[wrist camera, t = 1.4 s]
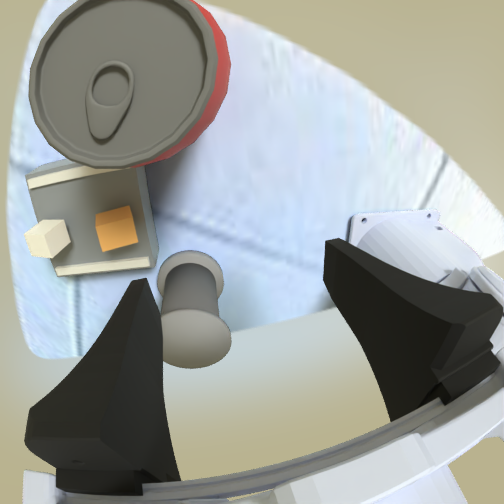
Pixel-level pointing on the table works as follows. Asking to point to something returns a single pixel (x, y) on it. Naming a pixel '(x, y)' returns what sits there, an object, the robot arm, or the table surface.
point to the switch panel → (93, 214)
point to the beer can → (128, 80)
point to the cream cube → (47, 238)
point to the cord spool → (192, 310)
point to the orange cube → (115, 228)
